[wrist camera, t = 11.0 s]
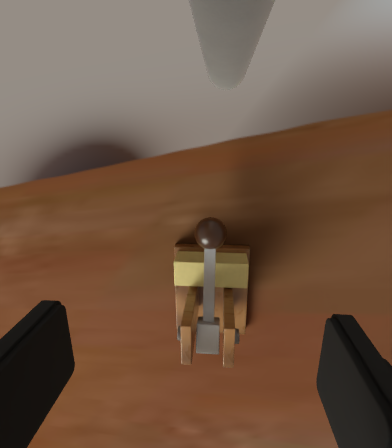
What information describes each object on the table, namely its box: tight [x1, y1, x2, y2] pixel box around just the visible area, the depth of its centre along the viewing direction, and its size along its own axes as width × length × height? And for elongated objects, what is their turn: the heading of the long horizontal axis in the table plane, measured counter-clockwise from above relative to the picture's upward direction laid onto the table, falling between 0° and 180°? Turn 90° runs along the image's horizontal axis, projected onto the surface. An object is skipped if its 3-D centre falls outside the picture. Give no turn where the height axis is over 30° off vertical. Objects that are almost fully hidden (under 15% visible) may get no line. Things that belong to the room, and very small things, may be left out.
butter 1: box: [174, 251, 204, 287], centre depth 33 cm, size 3×4×3 cm
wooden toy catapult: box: [174, 244, 250, 368], centre depth 32 cm, size 12×9×11 cm
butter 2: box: [215, 252, 249, 288], centre depth 33 cm, size 3×4×3 cm
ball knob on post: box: [194, 217, 227, 354], centre depth 28 cm, size 13×3×3 cm, turn 1°
